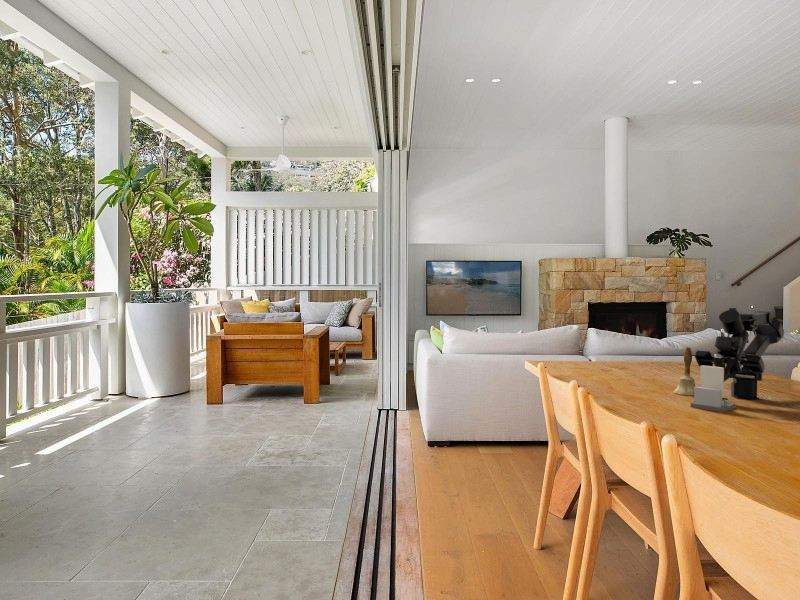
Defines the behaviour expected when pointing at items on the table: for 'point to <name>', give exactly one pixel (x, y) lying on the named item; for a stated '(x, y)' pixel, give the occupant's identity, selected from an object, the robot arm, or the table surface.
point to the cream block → (713, 379)
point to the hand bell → (686, 377)
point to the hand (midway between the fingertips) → (720, 381)
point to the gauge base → (710, 400)
